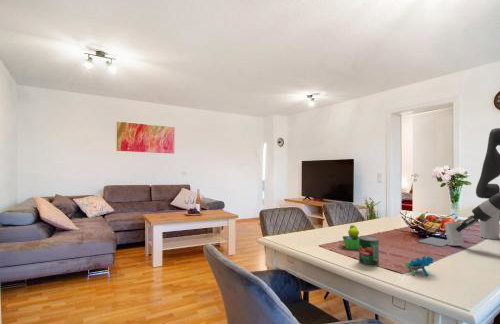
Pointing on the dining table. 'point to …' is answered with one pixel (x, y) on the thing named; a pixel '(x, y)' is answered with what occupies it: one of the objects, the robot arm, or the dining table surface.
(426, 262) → the toy dinosaur
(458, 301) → the dining table surface
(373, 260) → the canned tomato
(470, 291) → the dining table surface
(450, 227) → the skincare box
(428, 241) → the mat
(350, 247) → the fruit basket
